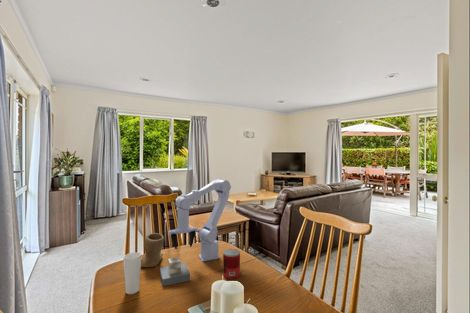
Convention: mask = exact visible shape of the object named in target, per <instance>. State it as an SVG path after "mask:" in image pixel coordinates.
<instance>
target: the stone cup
mask: <svg viewBox="0 0 470 313" xmlns="http://www.w3.org/2000/svg"><path fill="white" fill-rule="evenodd" d="M144 240H145V241H144V246H143V247H144V252H145V254H144V255H143V257H141V268H151V267H156V266H157V265H158V264H159V263H160V261H161V260H162V258H163V256H164V255H163V253H162V250H163V245H164V242H165V237H164V235H163V234H161V233H158V232H153V233H150V234H148V235H146V237H145V238H144Z"/></svg>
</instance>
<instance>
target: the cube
mask: <svg viewBox="0 0 470 313" xmlns="http://www.w3.org/2000/svg"><path fill="white" fill-rule="evenodd" d="M167 262H168V264H167V266H168V270H169V273H170V274H173V273H178V272H181V263H182V260H181V259H180V256H177V257H176V256H175V257H170V258H168V259H167Z"/></svg>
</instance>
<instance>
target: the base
mask: <svg viewBox="0 0 470 313" xmlns="http://www.w3.org/2000/svg"><path fill="white" fill-rule="evenodd" d="M159 275H160V276H159V277H160V280H161V285H162V287H166V286H170V285H176V284H181V283H184V282H189V281H191V272H190V270H189V268H188V266H187V264H186V262H181V272H178V273H173V274H170V273H169V270H168V265H165V266H160V267H159Z"/></svg>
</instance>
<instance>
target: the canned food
mask: <svg viewBox="0 0 470 313" xmlns="http://www.w3.org/2000/svg"><path fill="white" fill-rule="evenodd" d="M222 257H223V258H222V264H223V265H222V268H223V270H222V272H223V274H222V275H223V277H224V278H226V279H229V280H235V279H237V278H239V277H240V274H241V251H240V250H239V249H236V248H229V249H226V250H224V251H223V252H222Z"/></svg>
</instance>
